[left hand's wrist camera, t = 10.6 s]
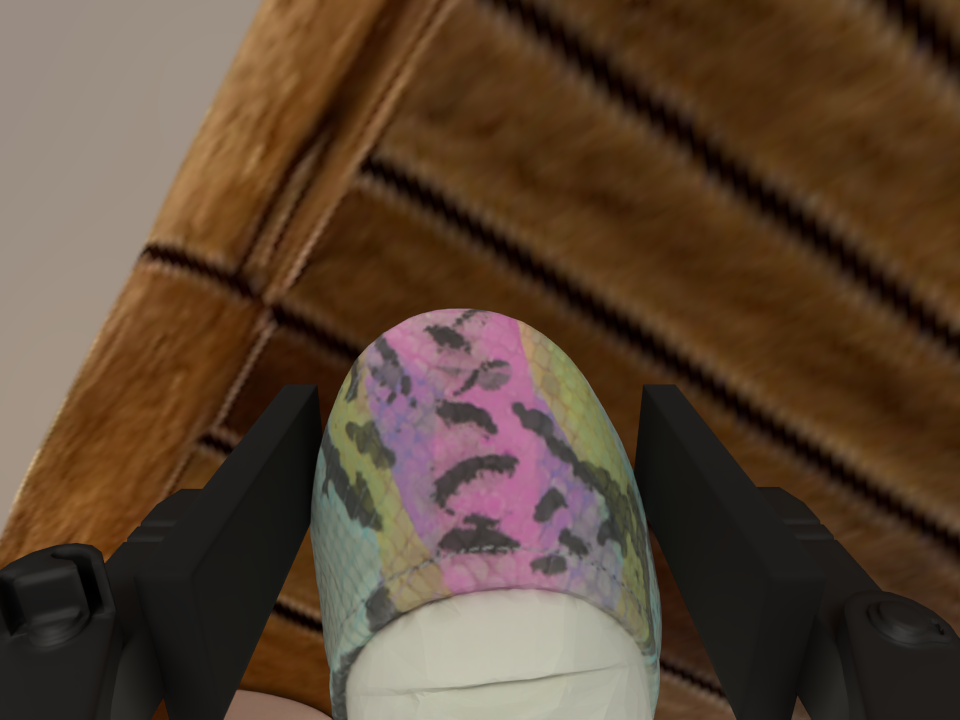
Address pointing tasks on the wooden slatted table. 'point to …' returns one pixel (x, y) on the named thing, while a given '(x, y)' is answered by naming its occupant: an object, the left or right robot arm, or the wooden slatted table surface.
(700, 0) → the wooden slatted table surface
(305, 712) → the anatomical model
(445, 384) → the ballet flat
